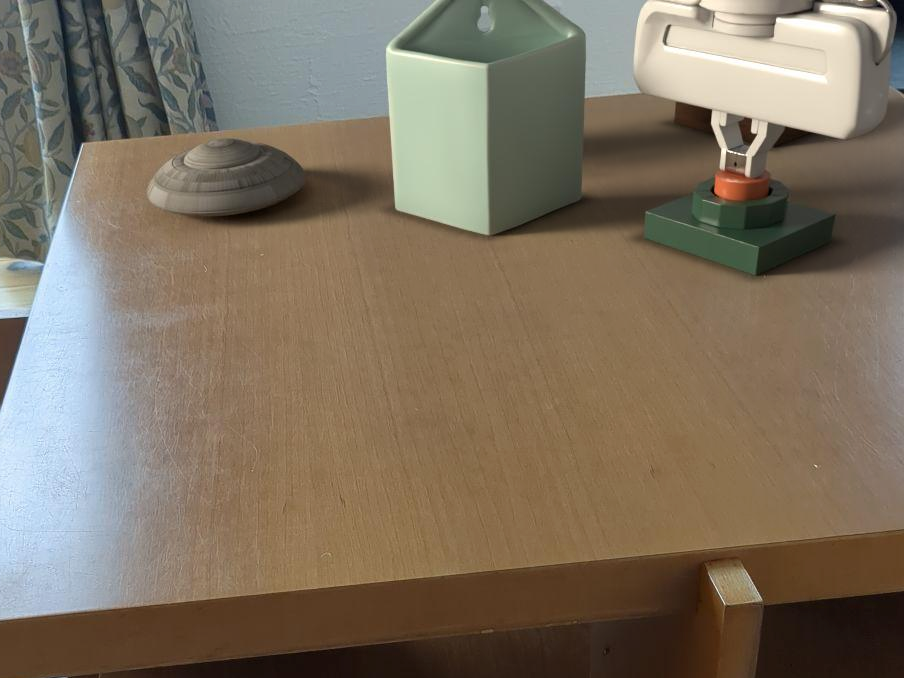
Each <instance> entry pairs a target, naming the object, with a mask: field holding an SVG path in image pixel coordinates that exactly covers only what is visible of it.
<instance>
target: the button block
mask: <svg viewBox="0 0 904 678" xmlns="http://www.w3.org/2000/svg"><path fill="white" fill-rule="evenodd" d="M715 178H716V176H714V177H712V178H709V179H706V180H703V181H700V182H698V183H697V184H696V185H695V188H694V190H693V192H692V193H690V194H687V195H684V196H681V197H679V198H677V199H674V200H672V201H668V202H667V203H664V204H661V205H658V206H656V207H653V208H650V209H648V210H646V211H645V213H644V214H645V215H644V226H643V227H644V228H643V239H646V240H648V241H652V242H655V243H658V244H661V245H664V246H667V247H669V248H673V249H676V250H678V251H680V252H681V251H682V252H684V253H688V254H689V255H694V256H697V257H698V258H699V257H700V258H702V259H705V260H708V261H712V262H714V263H717V264H720V265H723V266H727V267H728V268H732V269H735V270H737V271H741V272H743V273H747V274H749V275H753V276H758V275H760V274H762V273H765V272H766V271H769V270H771V269H774V268H775V267H778V266H780V265H782V264H784V263H787V262H789V261H791V260H793V259H795V258H798V257H800V256H802V255H804V254H807V253H808V252H811V251H813V250H815V249H818V248H820V247H822V246H825V245H827V244H829V243H831V242H832V238H833V232H834V227H835V219H836V213H833V212H829V211H825V210H822V209H818V208H816V207H815V208H814V207H811V206H807V205H803V204H800V203H797V202H792V201H789V196H790V188H789V187H788V186H786V184H784V183H782V182H781V181H780V180H776V179H773V178H770V184H769V191H768V196H767V197H765V198H762V199H757V200H748V201H740V200H727V199H723V198H720V197H716V196H715V195H714V188H715Z"/></svg>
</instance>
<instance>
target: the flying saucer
mask: <svg viewBox="0 0 904 678" xmlns="http://www.w3.org/2000/svg"><path fill="white" fill-rule="evenodd" d="M307 177H308V176H307V173H306V171H305V169H304V168H303V167H302V166H301V164H300V163H299V162H298V161H297V160H296V159H295V158H293V157H292V156H291V155H289V154H288V153H287V152H285V151H283V150H281V149H279V148H277V147H275V146H271V145H269V144H266V143H262V142H258V141H250V140H243V139H239V138H227V137H226V138H217V139H216V138H215V139H211V140H208V141H205V142H203V143H201V144H198V145H197V146H195V147H191V148H189V149H186V150H184V151H182V152H180V153H178V154H176V155H175V156H173V157H172V158H171V159H169V160H168V161H167V162H165V163H163V165H162V166H161V167H160V168H159V169H158V170H157V171H156V173H155V174H154V176H152V179H151V180H150V182H149V184H148V187H147V188H146V192H145V194H146V195H145V197H146V200H147V201H148V202H149V203H151V205H153V206H154V207H156V208H158V209H160V210H162V211H165V212H168V213H172V214H176V215H181V216H188V217H190V216H191V217H223V216H231V215H240V214H244V213H250V212H254V211H258V210H261V209H265V208H267V207H270V206H274V205H276V204H278V203H281V202H282V201H283V202H284V201H285V200H286V199H288V198H290V197H291V196H293V195H294V194H296V193H298V191H300V190H301V189H302V187H303V186H304V185H305V184H306V182H307V180H308V179H307Z"/></svg>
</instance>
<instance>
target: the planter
mask: <svg viewBox="0 0 904 678" xmlns="http://www.w3.org/2000/svg"><path fill="white" fill-rule="evenodd" d="M482 7H486V8H487V14H488V17H489V18H490V20H491V27H490V28H489V29H488V30H486V31H483V30H481V29H480V28H479V25H478V23H479V20H480V18H481V16H482ZM385 63H386V67H385V68H386V69H385V70H386V84H387V85H386V87H387V98H388V99H387V100H388V101H387V102H388V116H389V117H388V118H389V129H390V130H389V131H390V144H391V146H390V147H391V161H392V176H393V177H392V178H393V193H394V194H393V195H394V207H395V210H396V211H398V212H401V213H403V214H404V213H405V214H408V215H411V216H415V217H419V218H423V219H426V220H430V221H434V222H436V223H440V224H443V225H447V226H451V227H454V228H458V229H461V230H463V231H468V232H473V233H476V234H481V235H484V236H490V237H491V236H494V235H497V234H500V233H503V232H506V231H508V230H511V229H514V228H517V227H518V226H521V225H524V224H526V223H528V222H531V221H533V220H536V219H538V218H540V217H542V216H545V215H547V214H549V213H551V212H554V211H557V210H559V209H562V208H563V207H566V206H570V205H573V204H574V203H576V202H578V201H580V200H581V199H582V194H583V193H582V192H583V191H582V190H583V189H582V188H583V163H584V162H583V161H584V159H583V158H584V157H583V156H584V128H585V99H586V98H585V97H586V96H585V95H586V70H587V69H586V67H587V65H586V64H587V36H586V32H585V31H584V29H583V28H581V27H580V26H578V25H577V24H576V23H575V22H573V21H572V20H570V19H569V18H567V17H566V16H564V14H562V13H561V12H560V11H558V10H557V9H556V8H554V7H553V6H552V5H550V4H549V3H547V2H546V1H545V0H435V1H433V2H432V3H431V4H430V5H429V6H428V7H427V8H426V9H425V10H423V11H422V12H421V14H419V15H418V16H417V17H416V18H415V19H414V20H413V21H411V22H410V24H409V25H407V26H406V27H405V28H404V29H403V30H402V31H400V32H399V33H398V34H397V35H396V36H395V37H393V39H392V40H391V41H390V42H389V43H388V44H387V46H386V49H385Z"/></svg>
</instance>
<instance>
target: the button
mask: <svg viewBox="0 0 904 678" xmlns="http://www.w3.org/2000/svg"><path fill="white" fill-rule="evenodd" d="M715 177H716V178H715V188H714V195H715V196H716V197H720V198H723V199H727V200H740V201H748V200H757V199H762V198H765V197H767V196H768V191H769V184H770V179H771V172H770V171H769V170H767V169H765V171H764V173H763V175H761V176H759V177H756V178H754V179H751V178H747V177H744V176H740V175H737V174H733V173H729V172H725V171H722V170H720V169H718V170H717V171H716V173H715Z"/></svg>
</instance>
